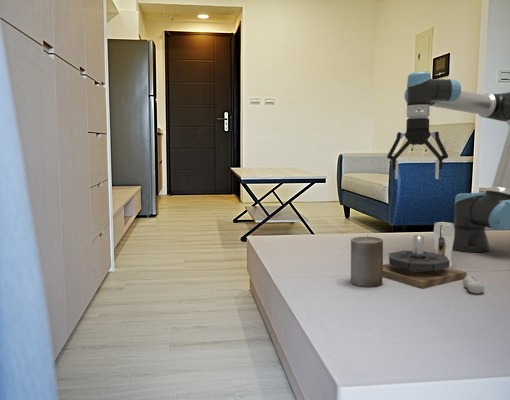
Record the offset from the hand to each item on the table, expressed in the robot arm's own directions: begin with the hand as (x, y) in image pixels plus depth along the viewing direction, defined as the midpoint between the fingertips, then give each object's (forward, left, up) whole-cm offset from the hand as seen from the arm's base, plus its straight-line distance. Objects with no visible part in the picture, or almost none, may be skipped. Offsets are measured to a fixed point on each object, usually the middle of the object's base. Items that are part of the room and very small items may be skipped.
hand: (416, 179), depth 167 cm
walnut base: (+12, +12, -30) cm, 35 cm away
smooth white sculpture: (+11, +31, -31) cm, 45 cm away
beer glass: (-6, +8, -31) cm, 32 cm away
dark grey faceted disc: (+12, +12, -26) cm, 31 cm away
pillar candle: (+32, +9, -31) cm, 45 cm away
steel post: (+12, +12, -28) cm, 33 cm away
